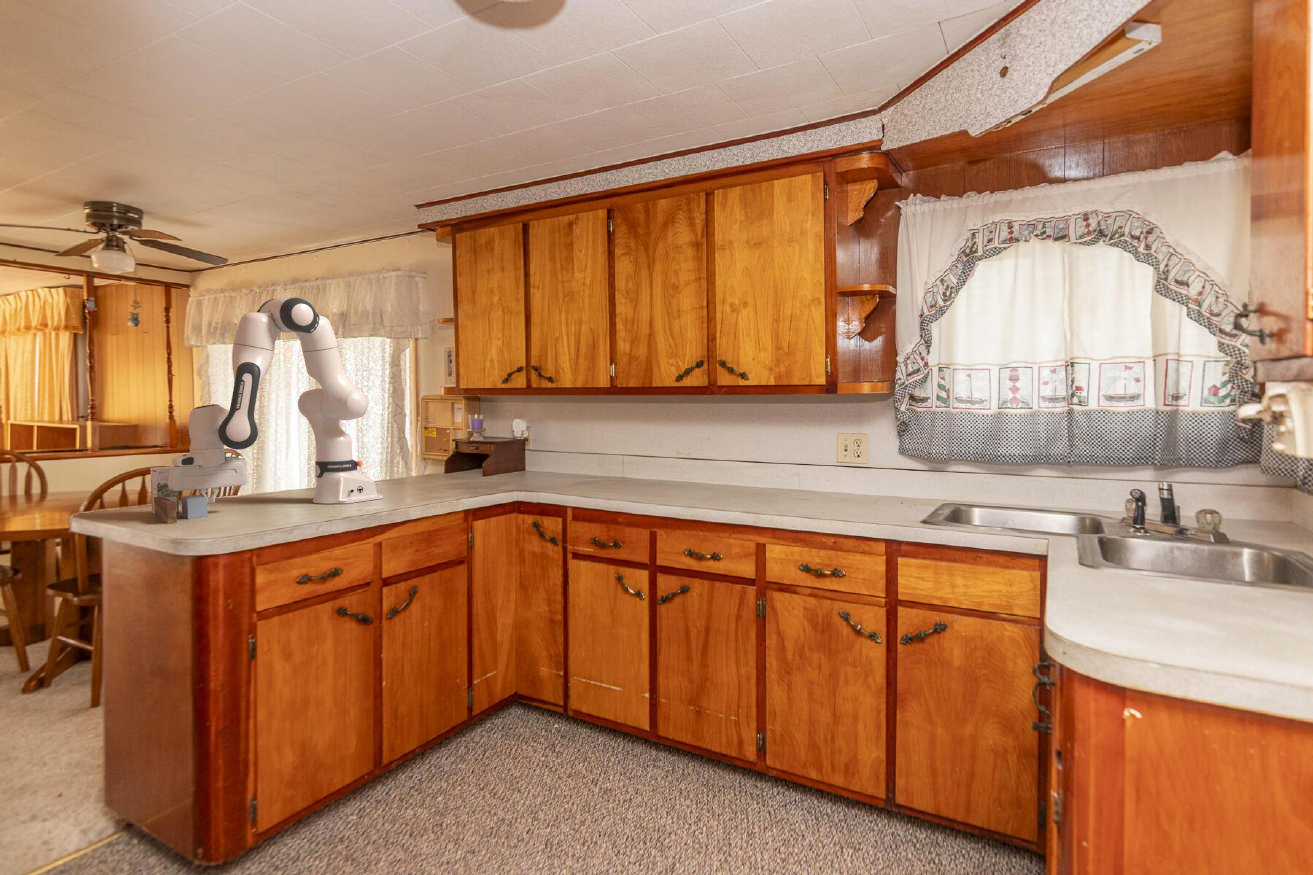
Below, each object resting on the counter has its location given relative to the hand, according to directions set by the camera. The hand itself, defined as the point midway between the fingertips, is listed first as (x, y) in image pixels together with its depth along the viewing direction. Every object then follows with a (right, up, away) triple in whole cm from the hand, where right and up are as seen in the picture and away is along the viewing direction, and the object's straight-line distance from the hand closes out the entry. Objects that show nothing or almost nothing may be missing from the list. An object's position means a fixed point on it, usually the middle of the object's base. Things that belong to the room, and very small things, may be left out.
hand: (209, 502), depth 209 cm
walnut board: (-8, -4, -8) cm, 12 cm away
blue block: (-3, -4, -3) cm, 5 cm away
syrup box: (-16, -4, +4) cm, 17 cm away
